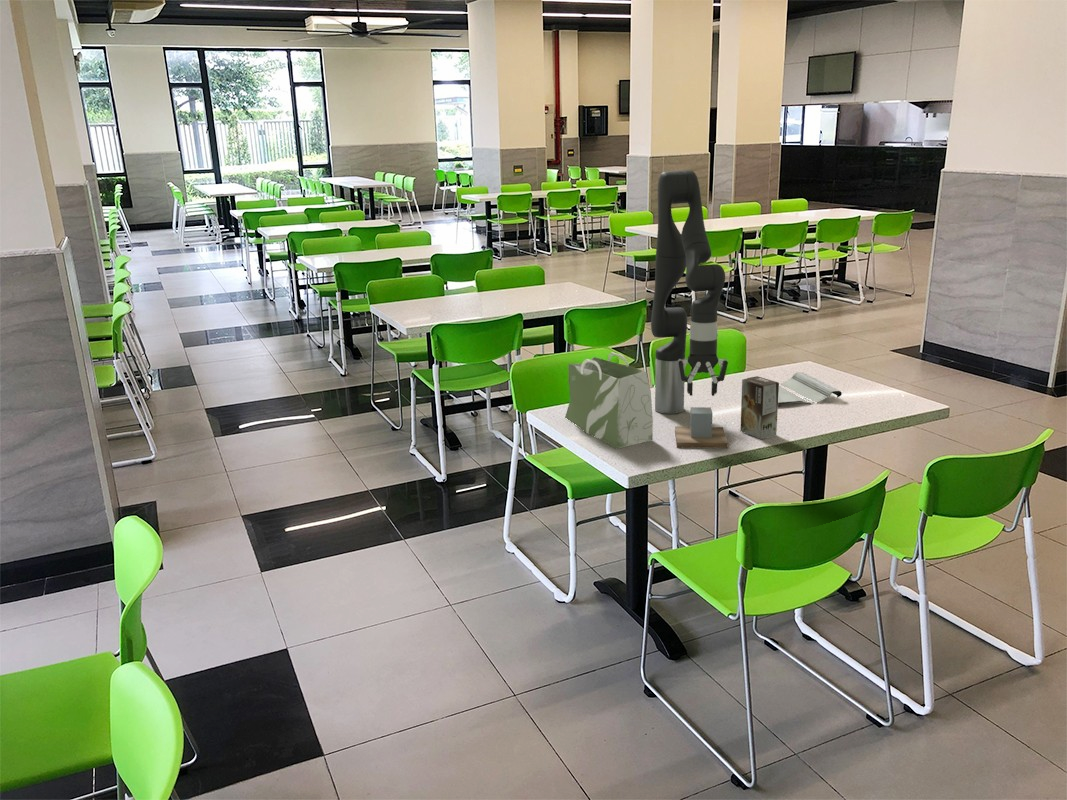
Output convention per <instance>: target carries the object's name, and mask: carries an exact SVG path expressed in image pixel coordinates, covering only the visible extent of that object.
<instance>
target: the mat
mask: <svg viewBox="0 0 1067 800" xmlns="http://www.w3.org/2000/svg"><path fill="white" fill-rule="evenodd" d="M780 384H781V385H782V386H784V387H787V388H789V389H791V390H793V391H795V392H796V393H798V394H800V395H802V396H804V397H806V398H808V399H811V400H812V401H815V402H817V404H819V403H820V402H823V401H825V400H826V399H828V397H829V396H831V395H832V394H834V395H835V396H836V399H837V398H840V397H841V396H842V395H843V393H842V392H841V390H839V389H837V388H835V387H833V386H831V385H829V384H827V383H825V382H823V381H821V380H819V379H817V378H815V377H813V376H811V375H809V374H807V373H805V372H803V371H802V372H795V373H794V374H792V376H791V377H790V378H789V379H787V380H785V381H783V382H781V383H780ZM805 400H806V399H805ZM805 400H804V398H803V399H802V398H800V397H798V396H796V395H795V394H793V393H791V392H789V391H787V390H786V389H784V388H782V387H781V386H779V393H778V405H781V404H783V405H784V404H791V403H792V404H793V403H803V404H807V405H812V404H811V403H812V402H810V401H808V400H807V401H808V402H807V401H805ZM809 402H810V403H809Z"/></svg>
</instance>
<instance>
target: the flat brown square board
mask: <svg viewBox="0 0 1067 800" xmlns="http://www.w3.org/2000/svg"><path fill="white" fill-rule="evenodd" d="M674 434H675V443H676V448H681V447H683V449H684V448H686V449H688V448H689V449H690V448H695V449H696V448H698V449H700V448H701V449H702V448H703V449H706V448H707V449H728V448H729V446H728V445H729V442H728V439H727V436H726V433H725V429H724V426H712V438H691V435H690V426H678V425H677V426H674Z"/></svg>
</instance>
